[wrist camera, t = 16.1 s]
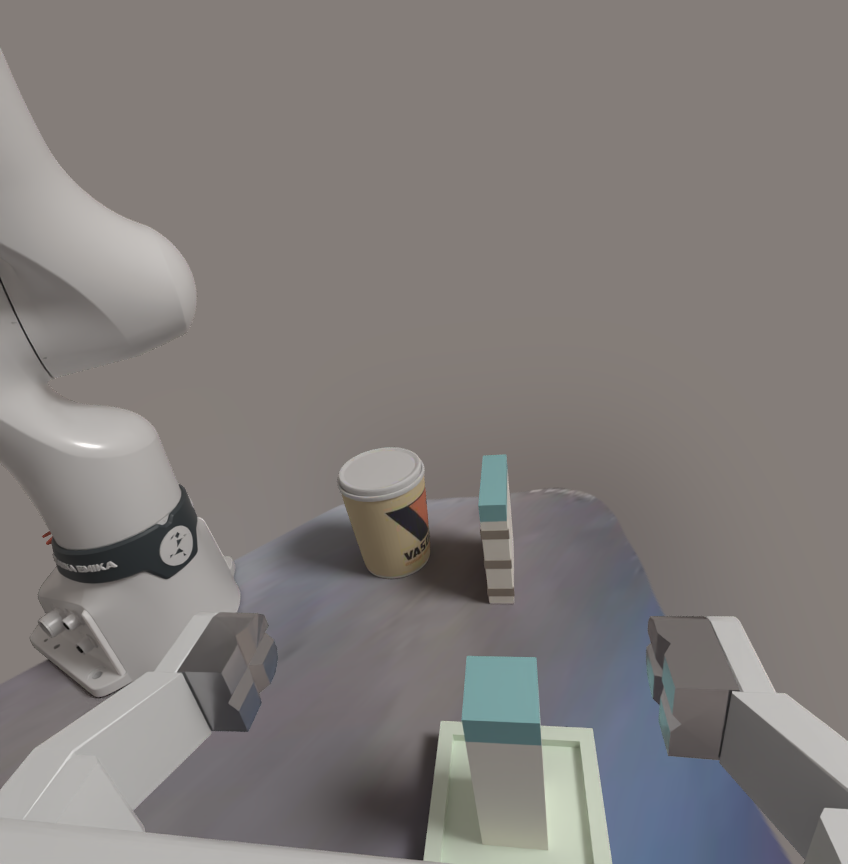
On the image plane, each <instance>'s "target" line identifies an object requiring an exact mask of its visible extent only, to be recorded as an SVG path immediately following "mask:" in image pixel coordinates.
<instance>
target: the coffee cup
mask: <svg viewBox="0 0 848 864" xmlns="http://www.w3.org/2000/svg"><path fill="white" fill-rule="evenodd" d="M337 485H338V488H339V490H340V492H341V494H342V497H343V500H344V504H345V507H346V510H347V513H348V516H349V519H350V522H351V525H352V528H353V531H354V534H355V536H356V539H357V542H358V545H359V548H360V551H361V554H362V557H363V560H364V562H365V565H366V567H367V569H368V570H369V571H370V572H371V573H372V574H374V575H375V576H378V577H381V578H386V579H396V578H402V577H406V576H409V575H411V574H413V573H415V572H417V571H418V570H420V569H421V568H422V567H423V566H424V565H425V564H426V563H427V561H428V559H429V556H430V537H429V525H428V513H427V502H426V492H425V482H424V465H423V462H422V461H421V460H420V459H419V457H418V456H417V455H416V454H415V453H414V452H412V451H410V450H407V449H403V448H394V447H393V448H391V447H390V448H379V449H374V450H371V451H367V452H364V453H361V454H359V455H357V456H355V457H354V458H352V459H350V460H349V461H347V462H346V463H345V464H344V465H343V466H342V468H341V469H340V472H339V476H338V479H337Z"/></svg>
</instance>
